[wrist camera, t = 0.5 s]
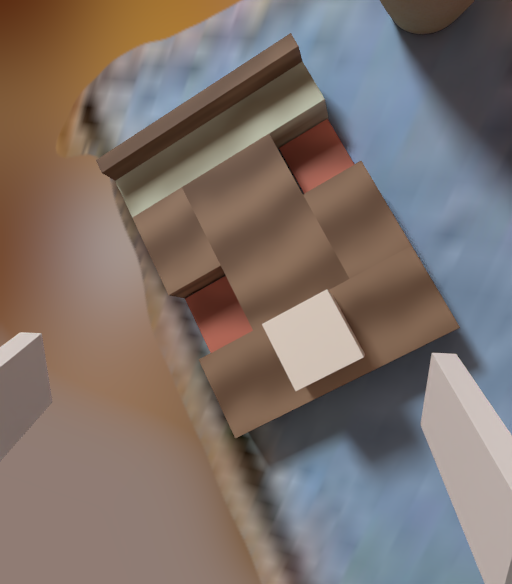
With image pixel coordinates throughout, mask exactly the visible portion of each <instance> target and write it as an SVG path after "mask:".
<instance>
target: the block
mask: <svg viewBox="0 0 512 584" xmlns="http://www.w3.org/2000/svg"><path fill="white" fill-rule="evenodd" d="M262 326H263V328H264V330H265V332H266V334H267V336H268V338H269V340H270V342H271V344H272V346H273V348H274V350H275V352H276V354H277V356H278V358H279V359H280V361H281V363H282V365H283V367H284V369H285V371H286V373H287V375H288V377H289V379H290V381H291V383H292V385H293V387H294V389H295V391H297V390H299V389H301V388H303V387H305V386H307V385H309V384H311V383H313V382H315V381H317V380H319V379H321V378H323V377H325V376H327V375H329V374H331V373H333V372H335V371H337V370H339V369H341V368H343V367H345V366H347V365H349V364H351V363H353V362H355V361H357V360H359V359H361V358H363V357H364V356H365V354H364V352H363V350H362V348H361V346H360V344H359V342H358V341H357V339H356V337H355V335H354V333H353V331H352V330H351V328H350V326H349V324H348V322H347V320H346V319H345V317H344V315H343V313H342V311H341V309H340V307H339V306H338V304H337V302H336V300H335V298H334V296H333V295H332V294H331V293H330V292H329V291H328V290H327V289H326V290H325V291H323V292H321V293H319V294H317V295H315V296H313V297H312V298H310V299H308V300H306V301H304V302H302V303H300V304H298V305H297V306H295V307H293V308H291V309H289V310H287V311H285V312H284V313H282V314H280V315H278V316H276V317H274V318H272V319H271V320H269V321H267V322H265V323H263V324H262Z"/></svg>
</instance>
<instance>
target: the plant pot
mask: <svg viewBox="0 0 512 584" xmlns="http://www.w3.org/2000/svg"><path fill="white" fill-rule="evenodd" d="M380 1H381V3H382V5H383V6H384V8H385V9H386V11H387V12H388V14H389V15H390V17H391V18H392V19H393V21H394V22H395V23H396V24H397V25H398V26H399V27H400V28H402V29H403V30H405V31H408V32H411V33H415V34H429V33H434V32H437V31H440V30H442V29H444V28H446V27H447V26H449V25H450V24H451V23H453V22H454V21H455V20H456V19H457V18H458V17H459V16H460V15H461V14H462V13H463V12H464V11H465V10H466V9H467V8H468V7H469V6H470V5H471V4H472V3H473V2H474V1H475V0H380Z"/></svg>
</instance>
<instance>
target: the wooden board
mask: <svg viewBox="0 0 512 584" xmlns="http://www.w3.org/2000/svg"><path fill="white" fill-rule="evenodd" d="M328 118H329V117H328V112H327V108H326V103H325V99H324V97H323V95H322V94H321V92H320V90H319V89H318V87H317V85H316V84H315V82H314V80H313V79H312V77H311V75H310V73H309V72H308V70H307V68H306V67H305V65H304V63H303V62H302V58H301V54H300V50H299V47H298V45H297V43H296V41H295V40H294V38H293V36H292V34H291V33H290V34H289V35H287V36H286V37H284V38H283V39H281V40H279V41H278V42H276V43H275V44H273V45H272V46H270V47H269V48H267V49H266V50H264V51H263V52H261V53H260V54H258V55H256V56H255V57H253V58H252V59H250V60H249V61H247V62H246V63H244V64H243V65H241V66H240V67H238V68H237V69H235V70H233V71H232V72H230V73H229V74H227V75H226V76H224V77H223V78H221V79H220V80H218V81H217V82H215V83H214V84H212V85H210V86H209V87H207V88H206V89H204V90H203V91H201V92H200V93H198V94H197V95H195V96H194V97H192V98H191V99H189V100H187V101H186V102H184V103H183V104H181V105H180V106H178V107H177V108H175V109H174V110H172V111H171V112H169V113H168V114H166V115H164V116H163V117H161V118H160V119H158V120H157V121H155V122H154V123H152V124H151V125H149V126H148V127H146V128H145V129H143V130H141V131H140V132H138V133H137V134H135V135H134V136H132V137H131V138H129V139H128V140H126V141H125V142H123V143H122V144H120V145H118V146H117V147H115V148H114V149H112V150H111V151H109V152H108V153H106V154H105V155H103V156H102V157H100V158H99V159H97V160H96V161H97V163H98V166H99V168H100V170H101V172H102V173H103V174H105V175H107V176H108V177H110V178H112V179H113V180H115V181H116V183H117V185H118V188H119V190H120V192H121V194H122V196H123V198H124V200H125V203H126V205H127V207H128V209H129V211H130V213H131V215H132V218H133V220H134V222H135V224H136V226H137V228H138V230H139V233H140V235H141V237H142V239H143V241H144V243H145V245H146V248H147V250H148V252H149V254H150V256H151V258H152V260H153V263H154V265H155V267H156V269H157V271H158V273H159V275H160V278H161V280H162V282H163V284H164V286H165V288H166V290H167V293H168V295H170V296H176V297H181V298H185V299H186V302H187V304H188V306H189V308H190V310H191V312H192V314H193V316H194V318H195V321H196V323H197V325H198V327H199V329H200V331H201V333H202V335H203V338H204V340H205V342H206V344H207V346H208V348H209V350H210V352H211V353H210V354H208V355H207V356H205V357H203V358H201V359H199V361H200V363H201V366H202V368H203V370H204V372H205V374H206V376H207V378H208V381H209V383H210V385H211V387H212V389H213V391H214V393H215V396H216V398H217V400H218V402H219V404H220V406H221V408H222V411H223V413H224V415H225V417H226V419H227V421H228V423H229V426H230V428H231V430H232V432H233V434H234V436H235V438H237V437H239V436H241V435H243V434H245V433H247V432H249V431H251V430H253V429H255V428H257V427H259V426H261V425H263V424H265V423H268V422H270V421H272V420H274V419H276V418H278V417H280V416H282V415H284V414H286V413H288V412H290V411H292V410H294V409H296V408H298V407H300V406H302V405H304V404H306V403H308V402H310V401H312V400H314V399H316V398H318V397H320V396H322V395H324V394H326V393H328V392H330V391H332V390H334V389H336V388H338V387H340V386H343V385H345V384H347V383H349V382H351V381H353V380H355V379H357V378H359V377H361V376H363V375H365V374H367V373H369V372H371V371H373V370H375V369H377V368H379V367H381V366H383V365H385V364H387V363H389V362H391V361H393V360H395V359H397V358H399V357H401V356H403V355H405V354H407V353H409V352H411V351H413V350H415V349H418V348H420V347H422V346H424V345H426V344H428V343H430V342H432V341H434V340H436V339H438V338H440V337H442V336H444V335H446V334H448V333H450V332H452V331H454V330H456V329H458V328H460V327H459V325H458V323H457V322H456V320H455V318H454V316H453V315H452V313H451V311H450V310H449V308H448V306H447V305H446V303H445V301H444V300H443V298H442V296H441V295H440V293H439V291H438V289H437V288H436V286H435V284H434V283H433V281H432V279H431V278H430V276H429V274H428V273H427V271H426V269H425V268H424V266H423V264H422V262H421V261H420V259H419V257H418V256H417V254H416V252H415V251H414V249H413V247H412V246H411V244H410V242H409V241H408V239H407V237H406V235H405V234H404V232H403V230H402V229H401V227H400V225H399V224H398V222H397V220H396V219H395V217H394V215H393V214H392V212H391V210H390V208H389V207H388V205H387V203H386V202H385V200H384V198H383V197H382V195H381V193H380V192H379V190H378V188H377V187H376V185H375V183H374V181H373V180H372V178H371V176H370V175H369V173H368V171H367V170H366V168H365V166H364V165H363V163H362V161H360V162H358V163H356V164H355V165H354V163H353V161H352V160H351V158H350V156H349V154H348V153H347V151H346V149H345V148H344V146H343V144H342V143H341V141H340V139H339V137H338V136H337V134H336V132H335V131H334V129H333V127H332V126H331V124H330V122H329V120H328ZM278 149H280V151H281V153H282V155H283V156H284V158H285V160H286V162H287V164H288V165H289V167H290V169H291V171H292V173H293V174H294V176H295V178H296V180H297V182H298V183H299V185H300V187H301V189H302V191H303V192H304V194H302V192H301V190H300V188H299V187H298V185H297V183H296V181H295V179H294V177H293V176H292V174H291V172H290V170H289V168H288V167H287V165H286V163H285V161H284V159H283V158H282V156H281V154H280V152H279V150H278ZM225 275H226V276H225ZM223 276H224V277H223ZM221 277H222V278H221ZM219 278H221V279H219ZM218 279H219V280H218ZM216 280H217V281H216ZM214 281H215V282H214ZM212 282H214V283H212ZM211 283H212V284H211ZM209 284H210V285H209ZM207 285H208V286H207ZM205 286H207V287H205ZM204 287H205V288H204ZM202 288H203V289H202ZM200 289H201V290H200ZM326 289H327V290H328V291H329V292H330V293H331V294H332V295H333V296H334V298H335V300H336V302H337V304H338V306H339V307H340V309H341V311H342V313H343V315H344V317H345V319H346V320H347V322H348V324H349V326H350V328H351V330H352V331H353V333H354V335H355V337H356V339H357V341H358V342H359V344H360V346H361V348H362V350H363V352H364V354H365V356H364V357H363V358H361V359H359V360H357V361H355V362H353V363H351V364H349V365H347V366H345V367H343V368H341V369H339V370H337V371H335V372H333V373H331V374H329V375H327V376H325V377H323V378H321V379H319V380H317V381H315V382H313V383H311V384H309V385H307V386H305V387H303V388H301V389H299V390H297V391H295V389H294V387H293V385H292V383H291V381H290V379H289V377H288V375H287V373H286V371H285V369H284V367H283V365H282V363H281V361H280V359H279V358H278V356H277V354H276V352H275V350H274V348H273V346H272V344H271V342H270V340H269V338H268V336H267V334H266V332H265V330H264V328H263V326H262V324H263V323H265V322H267V321H269V320H271V319H272V318H274V317H276V316H278V315H280V314H282V313H284V312H285V311H287V310H289V309H291V308H293V307H295V306H297V305H298V304H300V303H302V302H304V301H306V300H308V299H310V298H312V297H313V296H315V295H317V294H319V293H321V292H323V291H325V290H326ZM198 290H199V291H198ZM196 291H198V292H196ZM195 292H196V293H195ZM193 293H194V294H193ZM191 294H192V295H191ZM189 295H191V296H189ZM188 296H189V297H188ZM186 297H187V298H186Z"/></svg>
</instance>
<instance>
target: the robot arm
mask: <svg viewBox="0 0 512 584" xmlns="http://www.w3.org/2000/svg"><path fill="white" fill-rule="evenodd" d="M51 403H52V398H51V391H50V385H49V378H48V372H47V366H46V359H45V353H44V347H43V340H42V334H41V333H23V332H20V333H19V334H17V335H16V336H15V337H14V338H12V339H11V340H9V341H8V342H7V343H5V344H4V345H3V346H1V347H0V461H1V460H2V459H3V457H4V456H5V455H6V454H7V453H8V452H9V451H10V449H11V448H12V447H13V446H14V445H15V444H16V443H17V442H18V441H19V439H20V438H21V437H22V436H23V435H24V434H25V432H26V431H27V430H28V429H29V428H30V427H31V426H32V425H33V424H34V422H35V421H36V420H37V419H38V418H39V417H40V415H41V414H42V413H43V412H44V411H45V410H46V409H47V407H49V405H50V404H51ZM421 427H422V429H423V432H424V434H425V437H426V439H427V442H428V444H429V447H430V449H431V452H432V454H433V457H434V459H435V462H436V464H437V467H438V469H439V472H440V474H441V476H442V479H443V481H444V484H445V486H446V489H447V491H448V494H449V496H450V499H451V501H452V504H453V506H454V509H455V511H456V514H457V516H458V519H459V521H460V524H461V526H462V528H463V531H464V533H465V536H466V538H467V541H468V543H469V546H470V548H471V551H472V553H473V556H474V558H475V561H476V563H477V566H478V568H479V571H480V573H481V575H482V578H483V580H484V583H485V584H512V435H511V434H510V432H509V431H508V429H507V428H506V426H505V425H504V423H503V422H502V420H501V419H500V417H499V416H498V415H497V413H496V412H495V410H494V409H493V407H492V406H491V404H490V403H489V401H488V400H487V398H486V397H485V395H484V394H483V393H482V391H481V390H480V388H479V387H478V385H477V384H476V382H475V381H474V379H473V378H472V376H471V375H470V373H469V372H468V371H467V369H466V368H465V366H464V365H463V363H462V362H461V360H460V359H459V357H458V356H457V354H448V353H432V355H431V361H430V367H429V374H428V380H427V387H426V393H425V400H424V406H423V412H422V419H421Z"/></svg>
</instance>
